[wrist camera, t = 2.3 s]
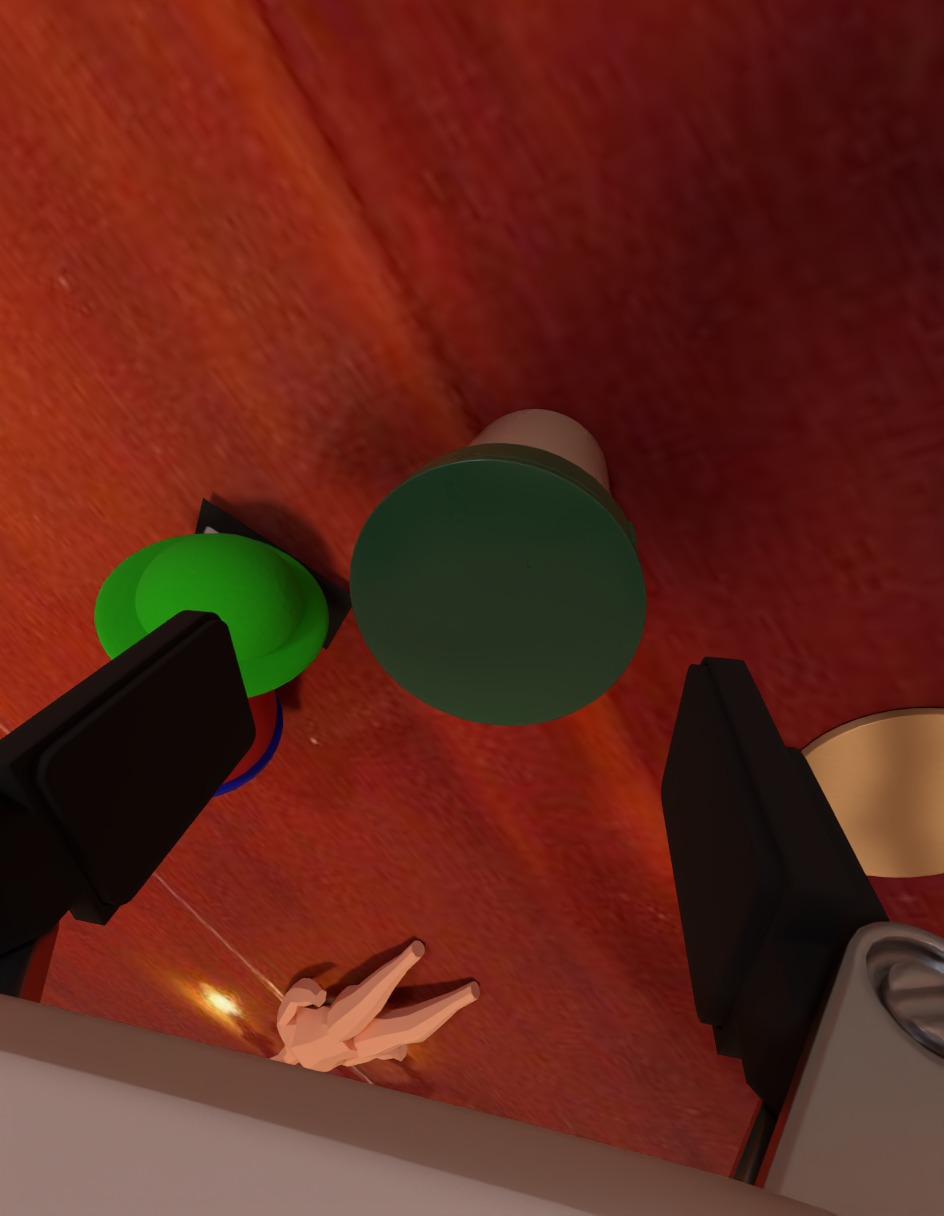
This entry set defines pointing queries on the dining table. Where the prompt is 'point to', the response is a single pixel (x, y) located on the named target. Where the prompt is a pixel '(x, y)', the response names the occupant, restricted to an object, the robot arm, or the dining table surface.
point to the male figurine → (361, 1018)
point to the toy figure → (229, 612)
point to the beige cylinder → (549, 439)
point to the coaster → (887, 789)
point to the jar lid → (500, 585)
